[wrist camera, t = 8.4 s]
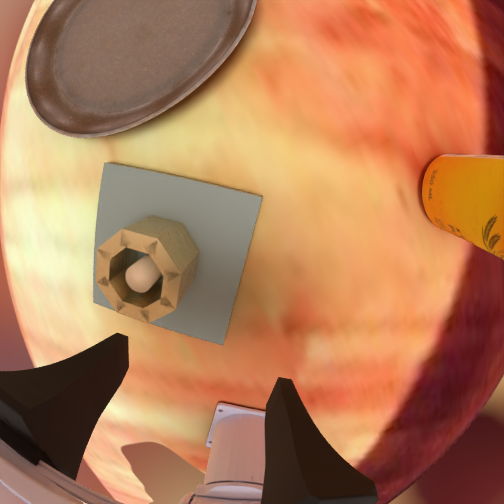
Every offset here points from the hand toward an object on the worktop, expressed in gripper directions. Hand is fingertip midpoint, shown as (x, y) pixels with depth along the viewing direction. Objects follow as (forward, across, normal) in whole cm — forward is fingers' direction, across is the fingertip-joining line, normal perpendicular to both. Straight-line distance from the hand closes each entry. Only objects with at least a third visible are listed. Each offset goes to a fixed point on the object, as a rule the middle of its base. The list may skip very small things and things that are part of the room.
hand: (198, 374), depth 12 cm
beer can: (+10, -15, -12) cm, 22 cm away
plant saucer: (+10, +13, -20) cm, 26 cm away
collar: (+9, +5, -2) cm, 10 cm away
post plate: (+10, +5, -2) cm, 11 cm away
